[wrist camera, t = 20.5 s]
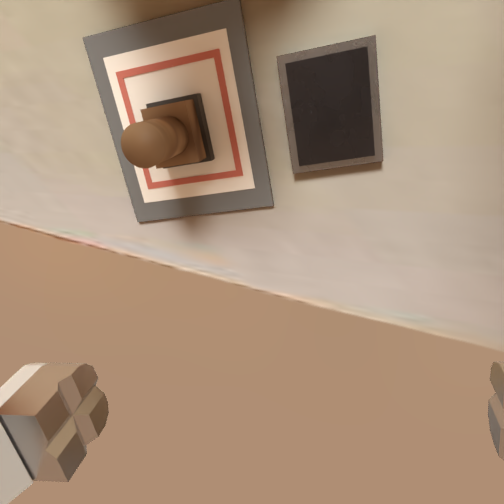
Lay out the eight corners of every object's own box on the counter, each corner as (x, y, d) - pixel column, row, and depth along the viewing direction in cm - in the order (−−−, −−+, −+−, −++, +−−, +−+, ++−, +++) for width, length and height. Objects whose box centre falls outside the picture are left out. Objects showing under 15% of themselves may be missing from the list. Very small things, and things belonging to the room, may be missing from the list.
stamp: (151, 103, 38) (100, 110, 30) (200, 93, 37) (161, 97, 29) (167, 166, 40) (124, 189, 32) (215, 158, 39) (182, 180, 31)
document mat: (84, 38, 37) (81, 37, 37) (239, -3, 34) (237, -4, 33) (139, 221, 44) (136, 222, 43) (273, 204, 40) (272, 206, 40)
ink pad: (278, 57, 35) (275, 56, 33) (374, 36, 33) (376, 34, 31) (294, 171, 38) (292, 175, 37) (382, 158, 36) (384, 162, 35)
